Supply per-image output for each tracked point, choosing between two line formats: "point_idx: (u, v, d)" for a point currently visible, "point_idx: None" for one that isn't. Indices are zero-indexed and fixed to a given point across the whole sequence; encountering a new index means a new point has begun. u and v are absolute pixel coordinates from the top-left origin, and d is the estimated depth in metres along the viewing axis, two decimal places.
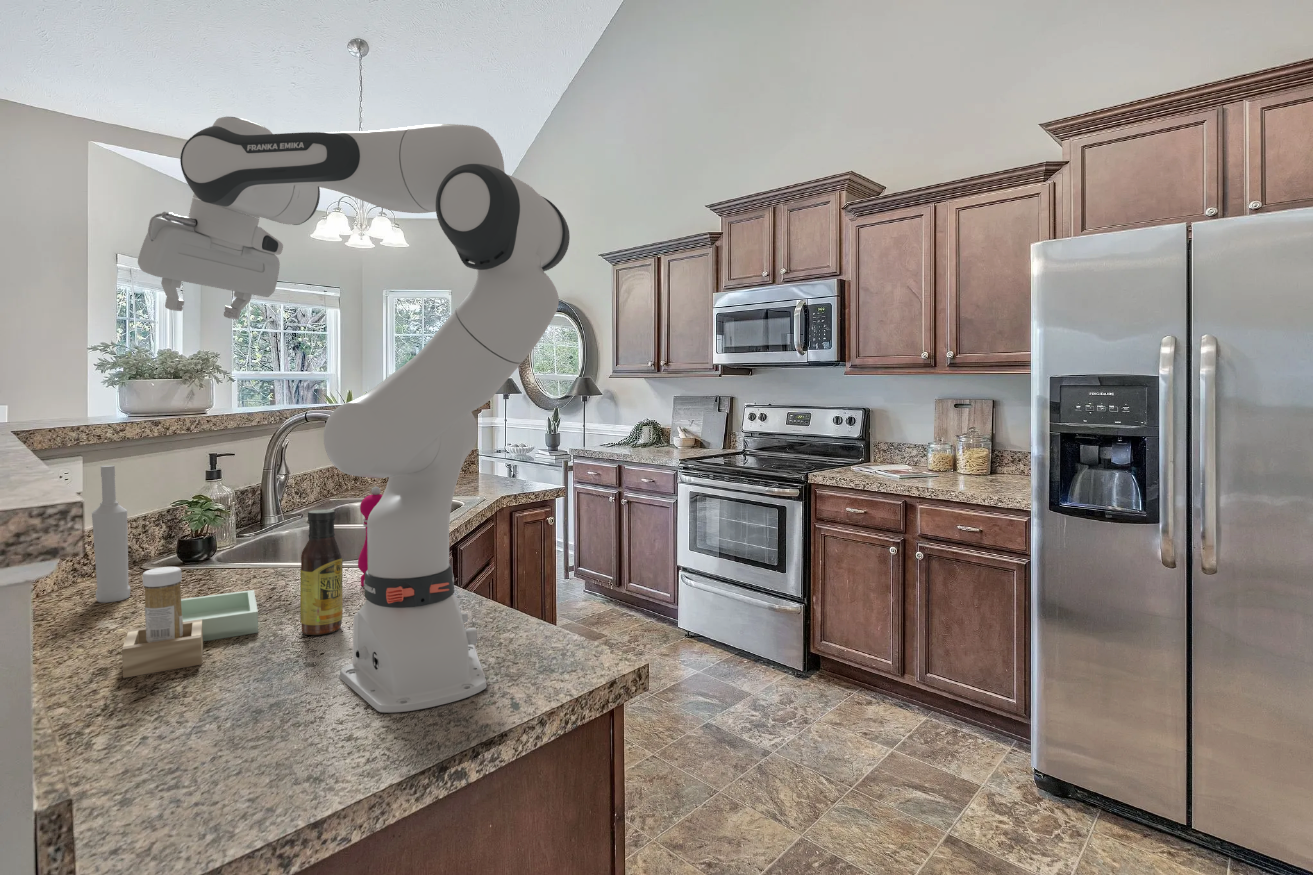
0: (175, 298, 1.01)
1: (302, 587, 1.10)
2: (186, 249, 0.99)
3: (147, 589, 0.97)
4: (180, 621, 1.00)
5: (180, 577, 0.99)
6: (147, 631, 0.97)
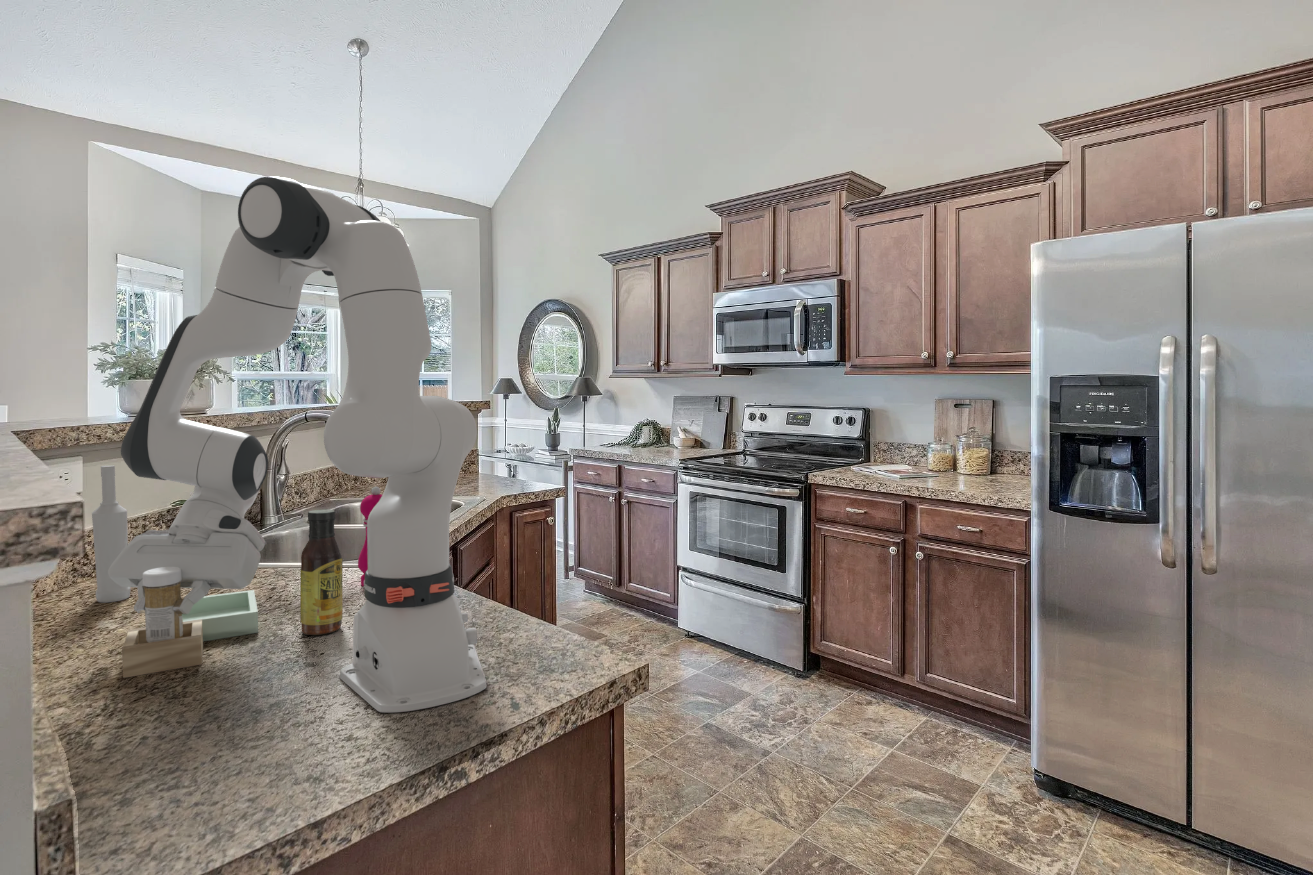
0: (139, 596, 0.99)
1: (302, 587, 1.10)
2: (148, 549, 1.04)
3: (147, 589, 0.97)
4: (180, 621, 1.00)
5: (180, 577, 0.99)
6: (147, 631, 0.97)
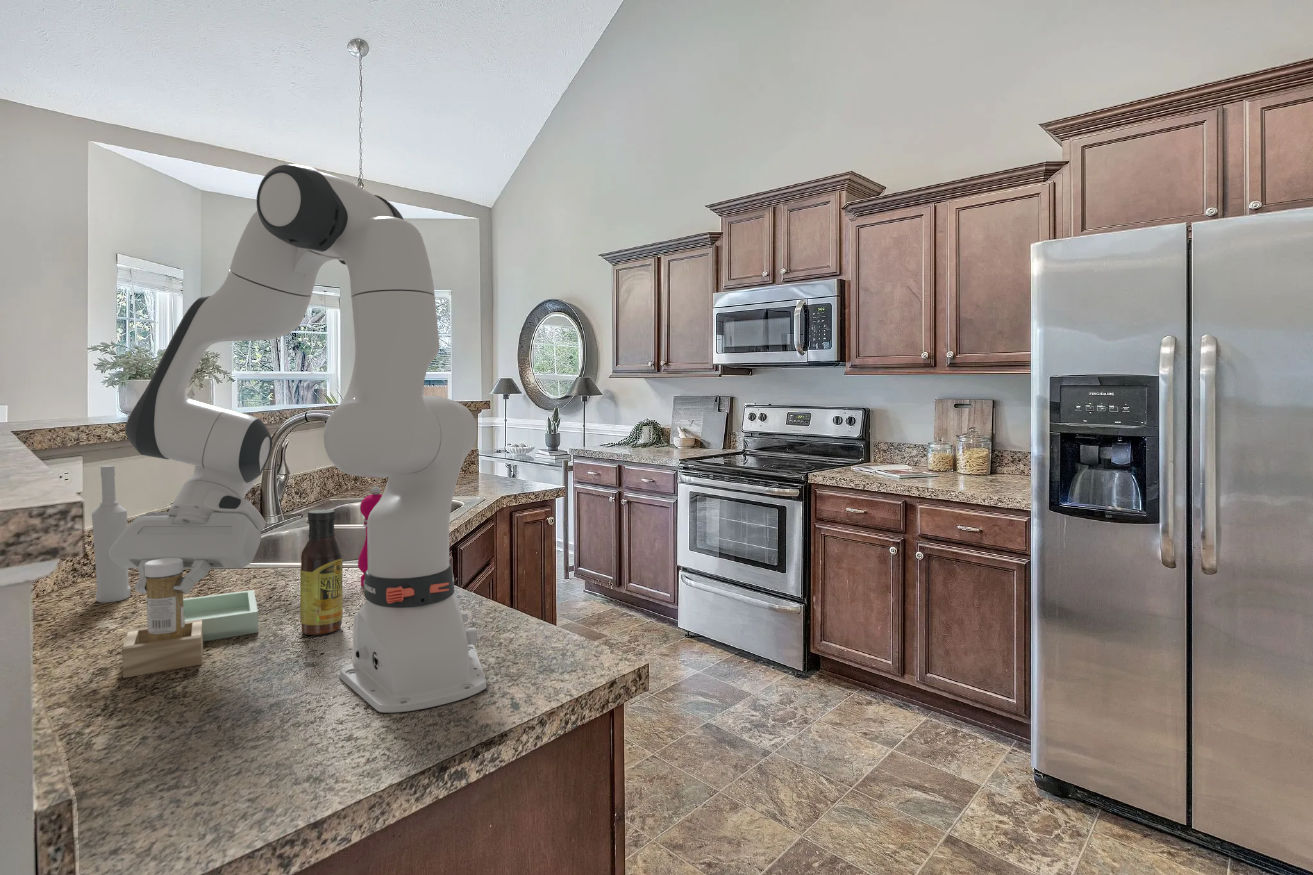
0: (140, 576, 0.99)
1: (302, 587, 1.10)
2: (149, 530, 1.03)
3: (149, 580, 0.97)
4: (182, 612, 0.99)
5: (182, 568, 0.99)
6: (149, 622, 0.97)
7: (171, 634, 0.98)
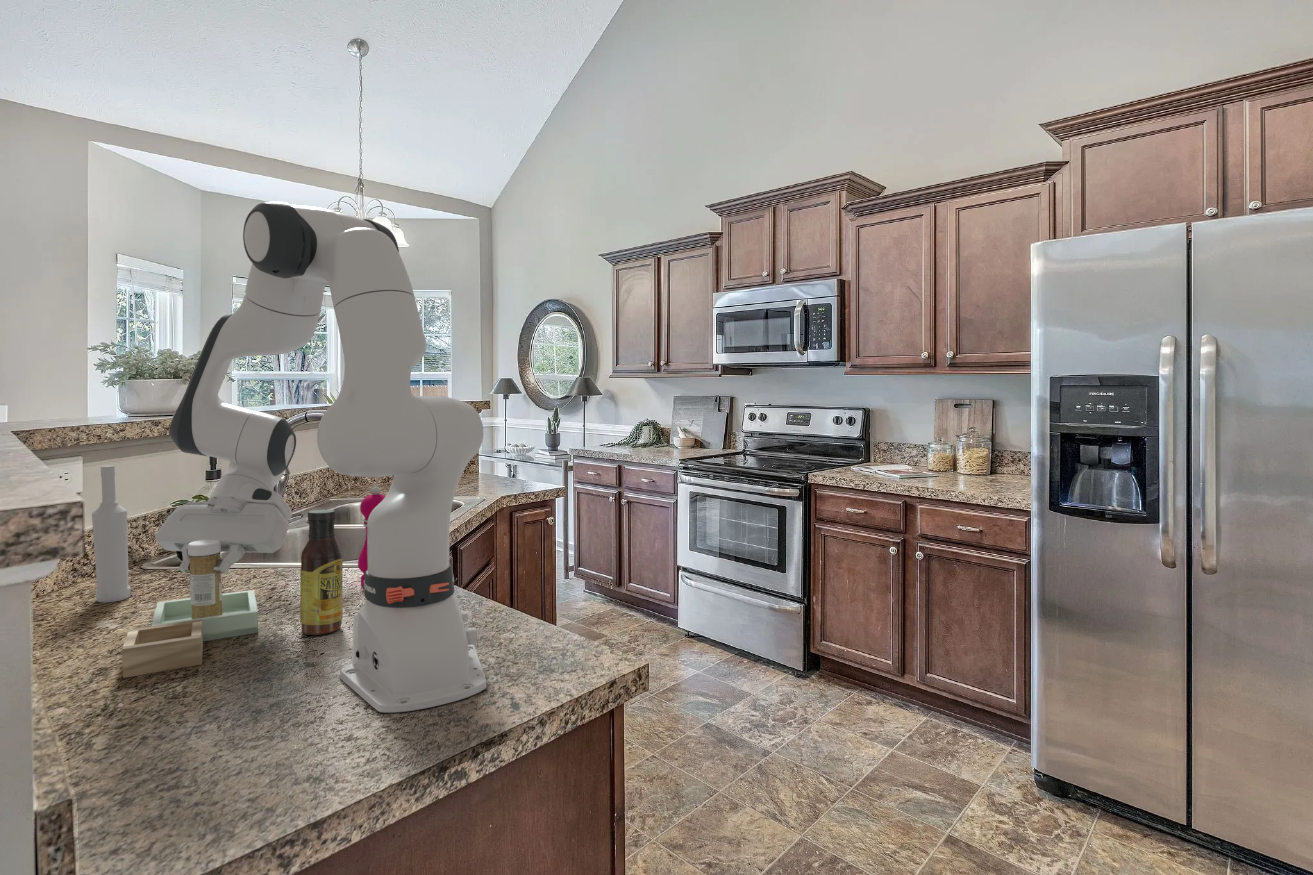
0: (184, 558, 1.13)
1: (302, 587, 1.10)
2: (190, 517, 1.17)
3: (192, 558, 1.11)
4: (220, 587, 1.13)
5: (220, 548, 1.13)
6: (191, 595, 1.11)
7: (211, 606, 1.12)
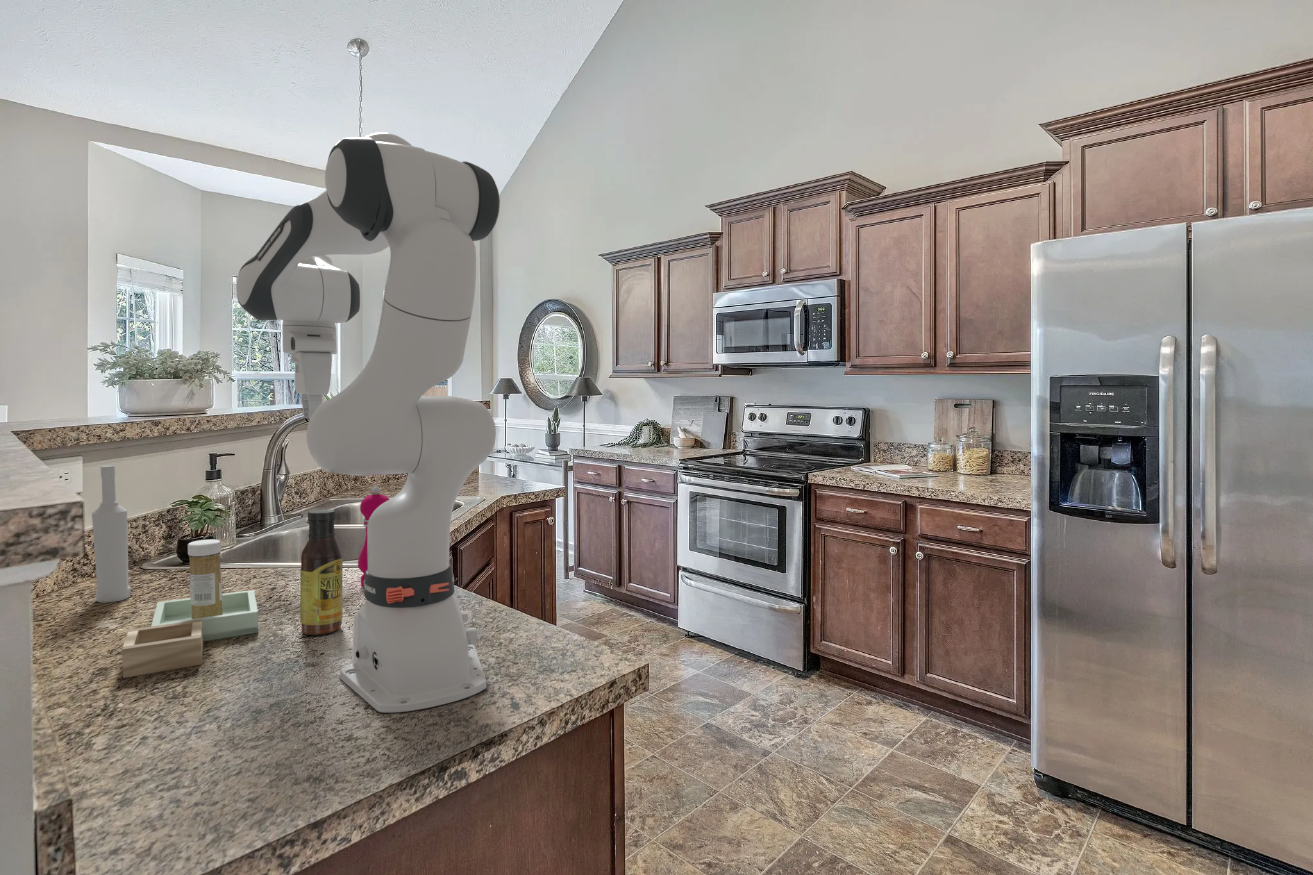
0: (303, 408, 1.30)
1: (302, 587, 1.10)
2: (298, 368, 1.29)
3: (192, 558, 1.11)
4: (220, 587, 1.13)
5: (220, 548, 1.13)
6: (191, 595, 1.11)
7: (211, 606, 1.12)
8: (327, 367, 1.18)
